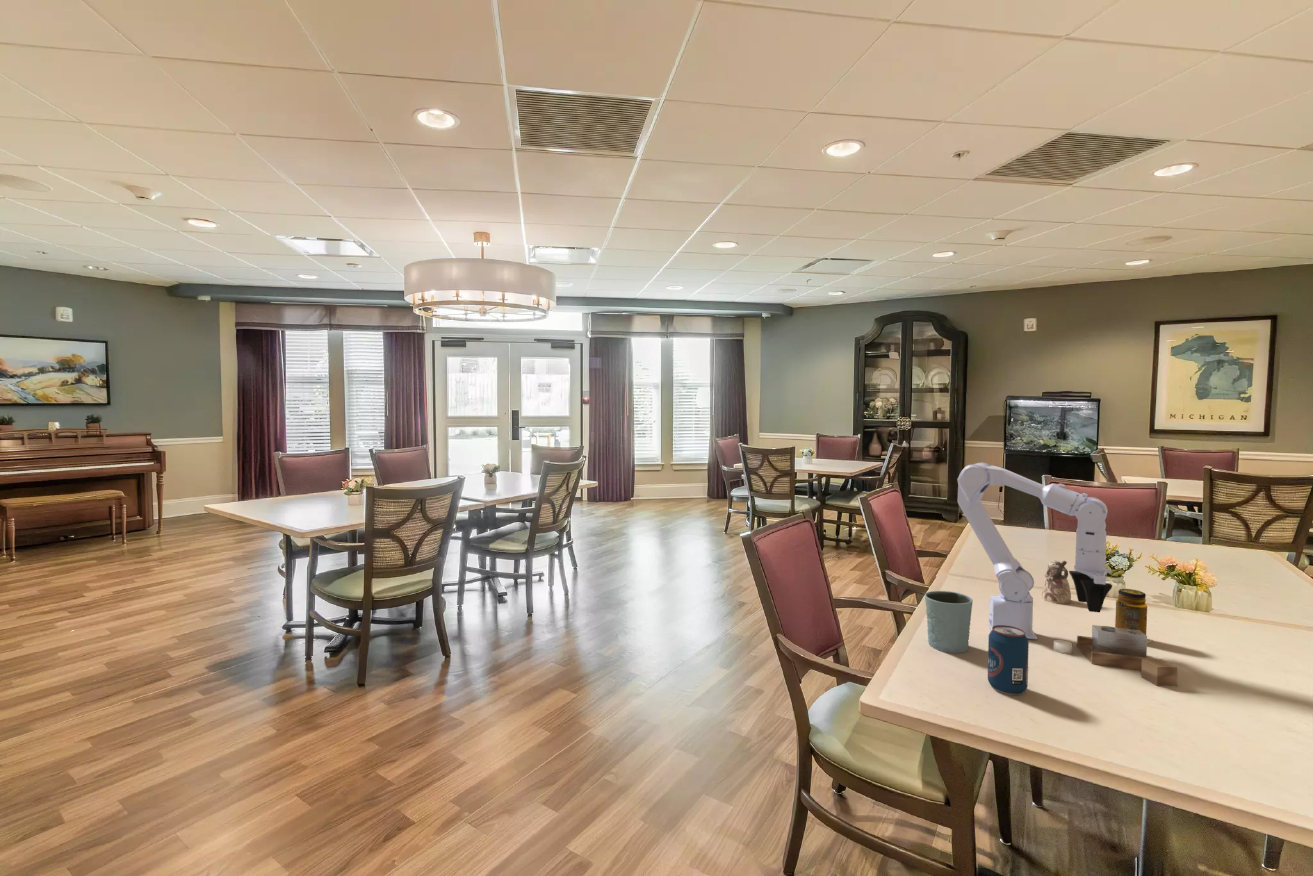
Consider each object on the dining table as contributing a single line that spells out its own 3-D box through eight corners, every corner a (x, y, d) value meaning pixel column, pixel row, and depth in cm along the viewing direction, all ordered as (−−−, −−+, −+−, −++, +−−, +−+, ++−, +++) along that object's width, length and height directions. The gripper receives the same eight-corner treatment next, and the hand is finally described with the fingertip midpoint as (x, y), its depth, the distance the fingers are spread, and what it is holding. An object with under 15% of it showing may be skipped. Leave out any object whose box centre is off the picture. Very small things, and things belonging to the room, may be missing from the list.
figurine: (1037, 596, 181) (1038, 557, 180) (1062, 597, 180) (1063, 558, 179) (1049, 603, 173) (1050, 563, 173) (1075, 604, 172) (1077, 564, 172)
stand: (1092, 663, 131) (1092, 652, 131) (1077, 645, 141) (1077, 635, 141) (1159, 672, 127) (1159, 660, 127) (1138, 653, 137) (1138, 642, 137)
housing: (1146, 660, 130) (1147, 634, 130) (1097, 654, 134) (1098, 629, 133) (1138, 653, 134) (1139, 628, 134) (1091, 648, 137) (1092, 623, 137)
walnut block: (1156, 686, 121) (1157, 667, 120) (1141, 677, 125) (1141, 659, 124) (1176, 686, 120) (1177, 667, 120) (1160, 678, 124) (1161, 659, 124)
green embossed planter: (976, 646, 141) (977, 596, 141) (964, 658, 134) (965, 606, 133) (932, 635, 148) (933, 588, 148) (917, 646, 141) (918, 597, 140)
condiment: (1152, 641, 145) (1154, 592, 144) (1140, 648, 140) (1141, 598, 140) (1117, 632, 151) (1118, 585, 150) (1103, 638, 146) (1105, 590, 146)
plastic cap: (1055, 652, 138) (1055, 644, 138) (1051, 647, 141) (1051, 639, 141) (1074, 655, 136) (1074, 646, 136) (1069, 649, 140) (1069, 641, 140)
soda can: (980, 680, 123) (982, 623, 122) (1014, 681, 123) (1016, 624, 122) (999, 696, 116) (1000, 636, 115) (1035, 697, 116) (1036, 636, 115)
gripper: (1122, 558, 131) (1120, 618, 132) (1100, 544, 145) (1098, 599, 145) (1084, 555, 134) (1083, 614, 134) (1066, 542, 147) (1064, 596, 148)
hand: (1088, 606), depth 140 cm, fingers open, 7 cm apart
